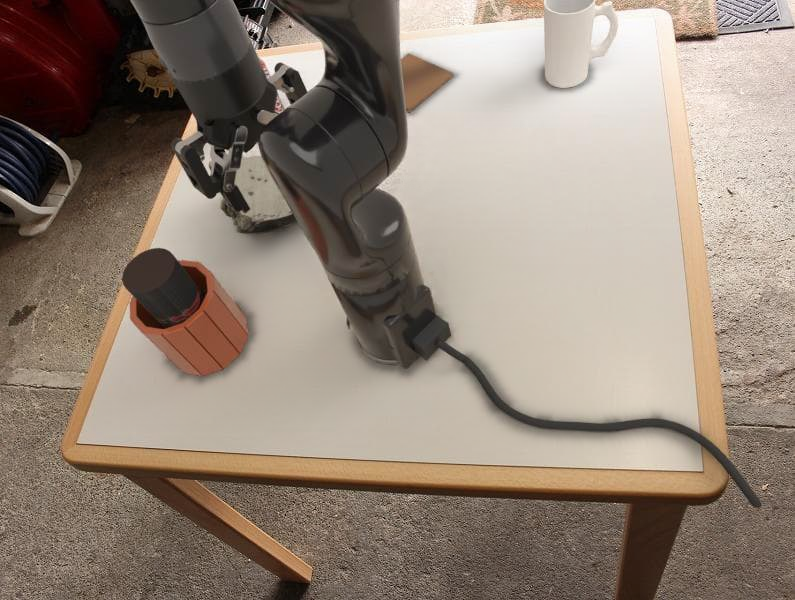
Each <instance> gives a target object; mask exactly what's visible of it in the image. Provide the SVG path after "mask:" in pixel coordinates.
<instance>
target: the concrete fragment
mask: <svg viewBox="0 0 795 600" xmlns="http://www.w3.org/2000/svg"><path fill="white" fill-rule="evenodd" d="M211 166H212V160H210V161H209V163H208V168H209V171H210V172H211ZM235 185H237V186H238V188H239V190H240V192H241V193H242V195H243V197H244V198H245V200H246V202H247V204H248V205H249V207H250V210H249V211H248V212H247V213H246V214H245V213H243V212H242V211H240V212H239V213H238V212H237V211H235V210H234V209H232V208H231V207H230V206H229V205H227V203H226V202H225V200H224V198H223V197H222V199H221V201H220V206H219V207H220V210H221V211H223V213H224V215H225V216H226V217H229V218H231V220H232V223H233V225H234V226H235V228H236V232H237V233H240V234H249V235H254V234H263V233H270V232H274V231H278V230H280V229H283V228H285V227H287V226H289V225H291V224H293V223H295V222H297V221H296V219H295V217H294V215H293V213H292V211H291V210H290V208H289V206H288V204H287V203H286V201H285V199H284V197H283V196H282V194H281V193H280V191H279V189H278V188H277V186H276V184H275V183H274V181H273V179H272V178H271V176H270V174H269V172H268V170H267V168H266V167H265V164H264V162H263V160H262V157H261V155H252V156H248V157H247V156H246V157H245V156H242V160H241V166H240V169H239V170H237V171H236V178H235Z"/></svg>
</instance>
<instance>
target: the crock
mask: <svg viewBox="0 0 795 600" xmlns="http://www.w3.org/2000/svg"><path fill="white" fill-rule="evenodd" d="M178 262H179V263H180V264H181V265H182V267H183V268H184V269H185V270H186V272H187V273H188V274H189V275H190V277H191V278H192V279H193V280H194V282H195V283H196V284H197V285H198V287H199V288H200V289H201V290H202V291H203V293H204V294H205V295H206V296H205V298H204V300H203V302H202V304H201V306H200V308H199V310H197V311H196V312H195V313H194V314H193V315H192V316H190V317H189V318H188V319H187V320H186V321H184V322H183V323H181V324H178V325H175V326H172V327H169V328H166V329H165V328H164V327H163V326H162V325H161V324H160V323H159V322H158V321H157V320H156V319H155V318H154V317H153V316H152V315H151V314H150V313H149V312H148V311H147V310H146V309H145V308H144V307H143V305H142V304H141V303H140V302H139V301H138V300H137V299H136V298H135V297H134V296H133V295H131V296H132V297H131V298H130V301H129V319H130V322H132V324H133V325H134V326H135V327H136V328H137V330H139V331H140V333H141V334H142V335H144V336H145V338H146V339H148V340H149V341H150V342H151V343H152V344H153V345H154V346H155V347H156V348H157V349H158V350H159V351H160V352H161V353H163V355H165V356H166V357H167V358H168V359H169V360H170V361H171V362H172V363H173V365H175V366H176V367H177V368H178V369H179V370H181V372H183V373H184V374H188V375H194V376H198V377H199V376H200V377H203V376H204V377H205V376H207V375H211V374H214V373H217V372H219V371H223V369H226V368H227V367H228V366H229V365H230V364H231V363H232V362H234V361H235V360H236V359H237V358H238V357H239V356H240V355H241V354H242V352H243V350H244V347H245V345H246V343H247V340H248V338H249V329H248V322H247V321H248V320H247V318H246V316H245V315H244V314H243V312H242V311H241V309H239V307H238V305H237V304H236V303H235V302H234V300H233V298H231V297H230V295H229V294H228V292H227V291H226V290H225V288H224V287H223V286H222V284H221V283H220V281H218V278H216V276H215V275H214V273H213V272H212V271H211V270H210V269H208V268H207V267H206V266H205V265H204V264H203V263H202V262H200V261H194V260H187V259H186V260H185V259H180V260H178Z"/></svg>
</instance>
